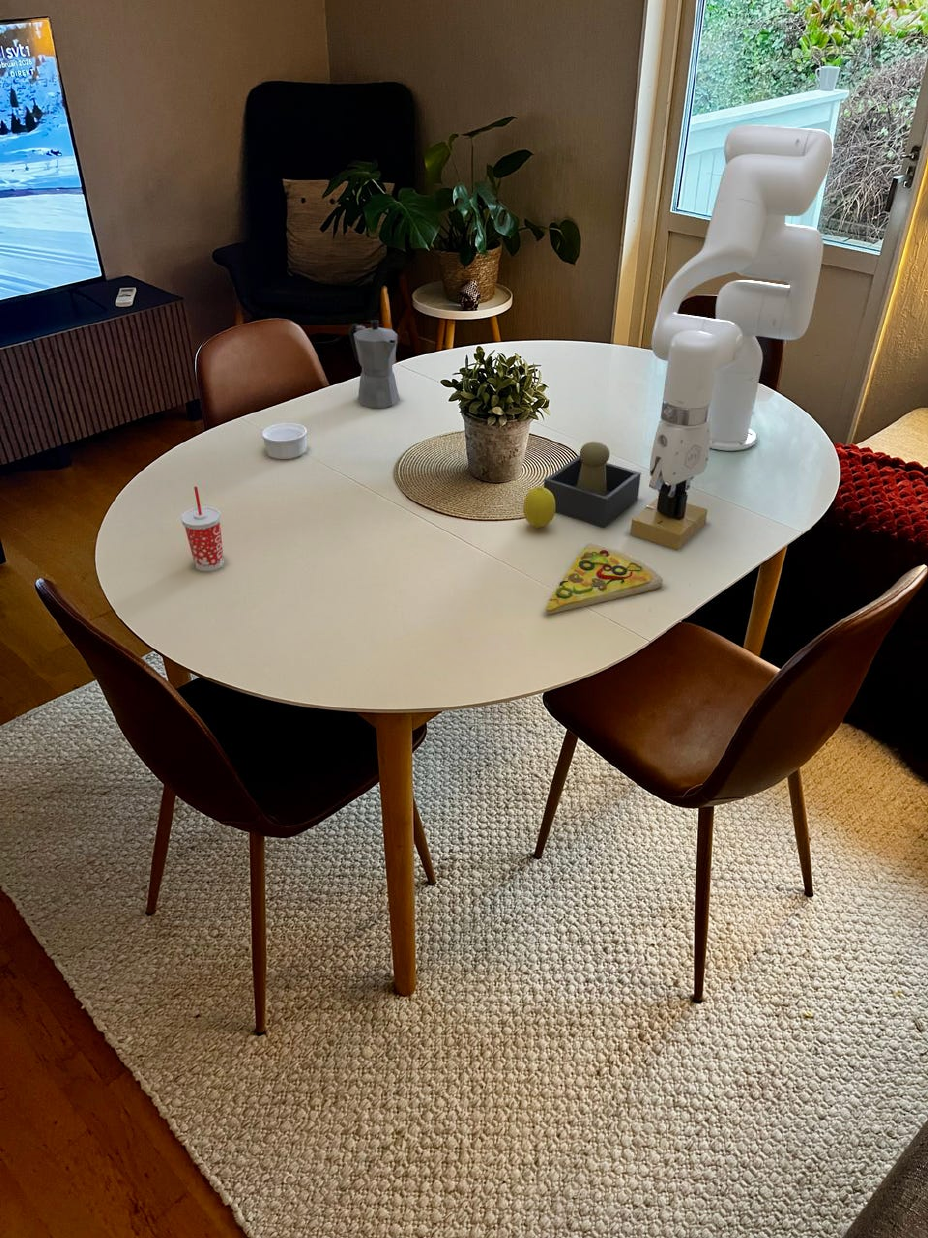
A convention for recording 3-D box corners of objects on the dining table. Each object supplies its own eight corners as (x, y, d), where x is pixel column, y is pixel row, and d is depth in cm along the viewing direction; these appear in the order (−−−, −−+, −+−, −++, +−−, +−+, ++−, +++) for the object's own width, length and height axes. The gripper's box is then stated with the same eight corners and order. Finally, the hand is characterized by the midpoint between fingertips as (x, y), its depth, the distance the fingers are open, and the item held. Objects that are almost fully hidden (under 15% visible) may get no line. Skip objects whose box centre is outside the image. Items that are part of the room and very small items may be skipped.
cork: (605, 510, 170) (611, 453, 164) (572, 507, 171) (576, 450, 165) (608, 494, 175) (614, 439, 168) (575, 491, 176) (580, 436, 169)
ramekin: (255, 456, 189) (252, 436, 186) (278, 439, 195) (276, 419, 193) (294, 464, 186) (292, 443, 183) (316, 446, 193) (315, 426, 190)
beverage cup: (209, 577, 152) (195, 500, 144) (182, 566, 155) (166, 490, 147) (236, 560, 157) (224, 484, 149) (209, 550, 159) (195, 474, 151)
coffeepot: (414, 403, 211) (412, 322, 200) (381, 415, 205) (377, 332, 195) (369, 384, 220) (365, 306, 209) (337, 395, 214) (331, 315, 204)
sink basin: (578, 481, 180) (580, 454, 177) (637, 500, 174) (641, 472, 171) (542, 507, 172) (544, 479, 169) (603, 528, 166) (606, 499, 163)
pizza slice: (668, 584, 151) (671, 568, 150) (584, 637, 140) (586, 620, 138) (593, 547, 160) (594, 532, 159) (508, 594, 149) (508, 578, 147)
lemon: (557, 523, 167) (560, 482, 163) (549, 538, 163) (552, 496, 158) (527, 517, 169) (529, 477, 164) (518, 532, 165) (520, 491, 160)
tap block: (658, 509, 172) (660, 493, 170) (705, 524, 167) (708, 508, 165) (629, 534, 164) (631, 518, 162) (678, 550, 160) (680, 534, 158)
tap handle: (684, 518, 163) (688, 493, 160) (678, 520, 162) (682, 495, 159) (662, 507, 166) (665, 482, 163) (656, 509, 165) (659, 485, 162)
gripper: (670, 431, 147) (656, 535, 157) (734, 405, 155) (717, 506, 166) (634, 416, 151) (622, 517, 162) (698, 392, 160) (683, 490, 170)
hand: (670, 511), depth 164 cm, fingers closed
